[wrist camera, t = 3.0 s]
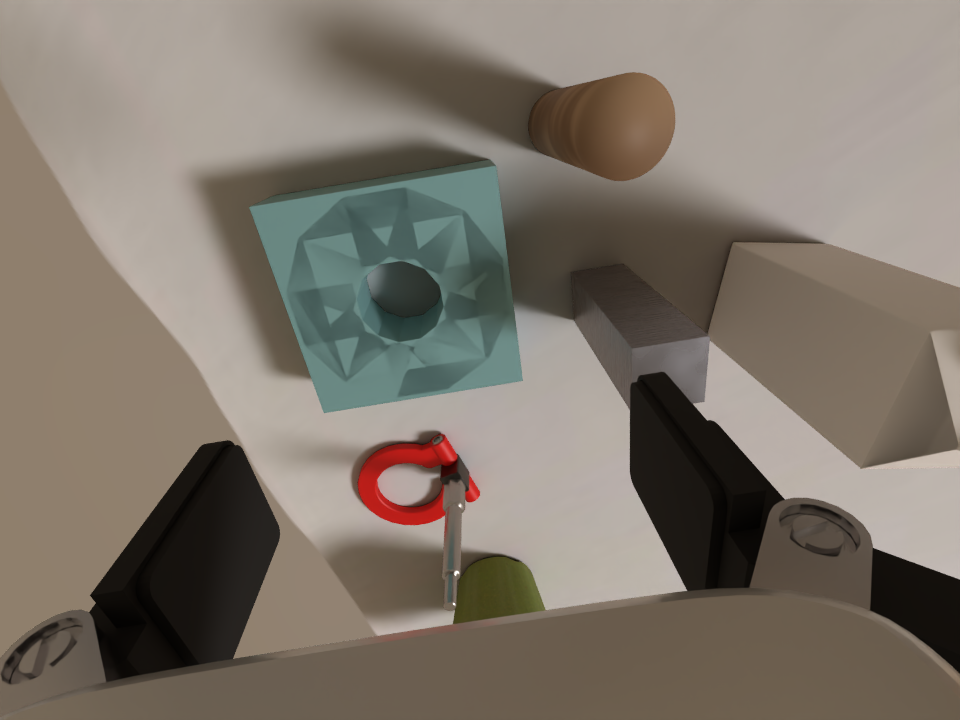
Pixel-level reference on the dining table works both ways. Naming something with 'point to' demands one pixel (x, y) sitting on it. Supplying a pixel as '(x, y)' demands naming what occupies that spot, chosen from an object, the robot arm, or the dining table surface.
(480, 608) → the plant pot
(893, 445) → the milk carton
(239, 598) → the robot arm
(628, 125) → the walnut dowel
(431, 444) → the tow hook
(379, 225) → the bore block
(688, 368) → the steel square bar
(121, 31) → the dining table surface
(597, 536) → the dining table surface
